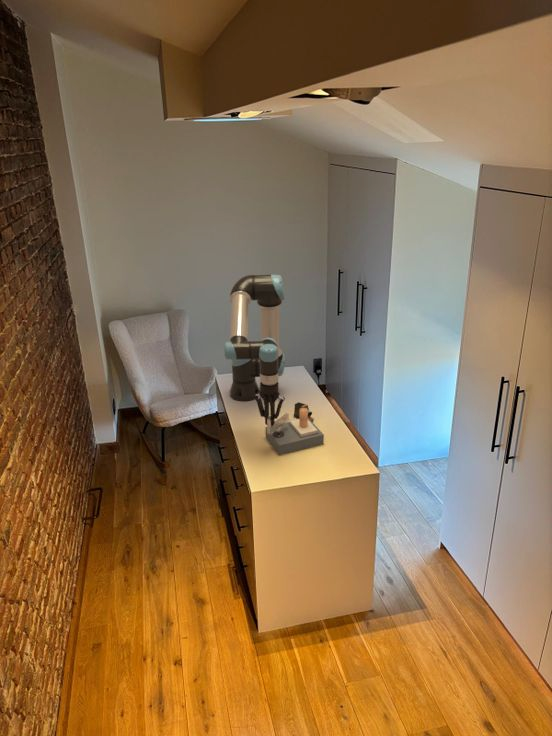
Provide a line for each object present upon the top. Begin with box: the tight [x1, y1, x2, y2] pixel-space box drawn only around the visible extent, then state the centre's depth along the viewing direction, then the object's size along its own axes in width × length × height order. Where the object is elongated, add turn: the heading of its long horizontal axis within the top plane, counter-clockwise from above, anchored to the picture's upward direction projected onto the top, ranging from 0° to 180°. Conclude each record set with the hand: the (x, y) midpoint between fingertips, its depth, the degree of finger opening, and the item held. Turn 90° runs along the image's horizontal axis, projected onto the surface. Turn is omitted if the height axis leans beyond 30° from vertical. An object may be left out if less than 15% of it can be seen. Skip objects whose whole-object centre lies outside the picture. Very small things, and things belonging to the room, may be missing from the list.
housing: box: [264, 418, 325, 456], centre depth 241 cm, size 16×21×5 cm
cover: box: [289, 408, 318, 437], centre depth 239 cm, size 12×8×10 cm, turn 22°
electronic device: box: [293, 402, 315, 422], centre depth 257 cm, size 4×10×8 cm, turn 44°
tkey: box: [266, 413, 290, 435], centre depth 235 cm, size 2×14×6 cm, turn 144°
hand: (270, 431), depth 232 cm, fingers closed
